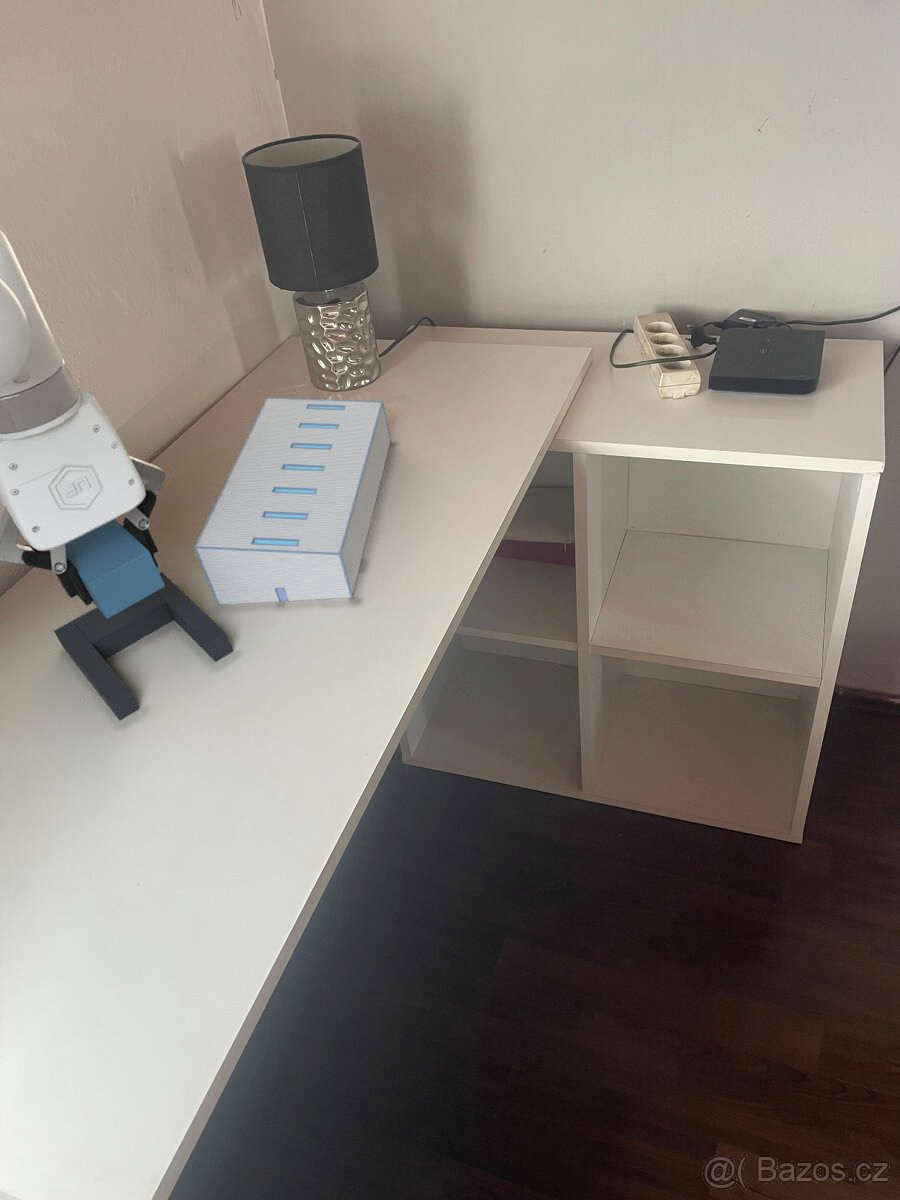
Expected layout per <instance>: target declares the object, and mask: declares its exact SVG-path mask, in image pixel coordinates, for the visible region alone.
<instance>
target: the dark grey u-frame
mask: <svg viewBox="0 0 900 1200" xmlns="http://www.w3.org/2000/svg"><path fill="white" fill-rule="evenodd" d="M159 574H160V576H161V578H162V580H163V582H164V584H165V587H163V588H161V589H160V590H158V591H156V592H154V593H152V594H151V595H149V596H147V597H145V598H143V599H142V600H140V601H138V602H136V603H135V604H133V605H131V606H129V607H127V608H126V609H124V610H122V611H120V612H118V613H117V614H115V615H113V616H111V617H110V618H108V619H107V618H106V617H105V616H104V615H103V614H102V612H101V611H100V610H99V609H98V608H97V607H95V608H93V609H91V610H90V611H87V612H86V613H84V614H82V615H80V616H78V617H77V618H75V619H73V620H71V621H69V622H68V623H66V624H64V625H62V626H60V627H58V628H56V629H55V630H53V633H54V634H55V636H56V638H57V640H58V642H59V643H60V644H61V646H62V648H63V649H64V650H65V651H66V653H67V654H68V656H69V657H70V658H71V660H72V661H73V662H74V663H75V665H76V666H77V667H78V669H79V670H80V671H81V673H82V674H83V675H84V677H85V679H86V680H87V681H88V682H89V683H90V684H91V686H92V688H94V690H95V691H96V693H98V695H99V696H100V697H101V698H102V700H103V701H104V703H105V704H106V705H107V706H108V708H109V709H110V710H111V711H112V713H113V714H114V716H115V717H116V719H118V721H122V720H123V719H124V718H127V717H128V716H130V715H132V714H133V713H135V712H136V711H138V710H139V709H140V707H139V705H138V703H137V701H136V699H135V698H134V696H133V694H132V692H131V691H130V689H129V688H128V687H127V685H126V684H125V683H124V682H123V680H121V678H120V677H119V676H118V674H117V673H116V671H114V670H113V668H112V667H111V666H110V665H109V663H108V662H107V661H106V660H107V659H108V658H110V657H112V656H113V655H116V654H117V653H119V652H120V651H122V650H124V649H126V648H127V647H130V646H131V645H133V644H135V643H136V642H138V641H140V640H141V639H143V638H144V637H147V636H149V635H150V634H151V633H153V632H155V631H157V630H158V629H160V628H162V627H164V626H166V625H167V624H169V623H171V622H173V621H174V622H176V624H177V625H178V626H179V627H180V628H181V629H182V630H183V631H184V632H185V633H186V634H187V635H188V637H190V638H191V639H192V640H193V641H194V642H195V643H196V644H197V645H198V646H199V647H200V648H201V649H202V650H203V651H204V652H205V653H206V654H207V655H208V656H209V657H210V658H211V659H212V660H213V661H214V662H218V661H220V660H221V659H223V658H225V657H227V656H228V655H229V654H231V653H233V651H234V650H233V646H232V644H231V643H230V640H229V637H228V635H227V633H226V632H225V631H224V629H222V628H221V627H220V626H219V625H218V624H217V623H216V622H215V621H214V620H213V619H212V618H211V617H210V616H209V615H208V614H207V613H206V612H205V611H203V609H202V608H200V607H199V606H198V605H197V604H196V603H195V602H194V601H193V600H192V599H191V598H190V597H189V596H188V595H187V594H186V593H185V592H183V590H182V589H181V588H179V587H178V586H177V584H175V583H174V582H173V581H172V579H170V578H169V577H168V576H167V575H166V574H165V573H164V572H163V571H160V572H159Z"/></svg>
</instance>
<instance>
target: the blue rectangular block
mask: <svg viewBox="0 0 900 1200" xmlns="http://www.w3.org/2000/svg"><path fill="white" fill-rule="evenodd" d="M65 550H66V557H67V559H68V560H69V561H70V562H71V563H72V564H73V565H74V566H75V568H76V569H77V571H78V574H79V576H80V577H81V579H82V581H83V583H84V585H85V587H86V588H87V590H88V592H89V594H90V596H91V598H92V599H93V601H92V604H93V605H94V606H95V608H98V609H99V610H100V611H101V612H102V614H103V615H104V616H105V617H106V618H107V619H108V618H110V617H111V616H113V615H115V614H117V613H118V612H120V611H122V610H124V609H126V608H127V607H129V606H131V605H133V604H135V603H136V602H138V601H140V600H142V599H143V598H145V597H147V596H149V595H151V594H152V593H154V592H156V591H158V590H160V589H161V588H163V587H165V584H164V582H163V580H162V578H161V576H160V574H159V573H160V572H159V570H158V567H156V565H155V563H154V561H153V558H152V556H151V554H150V552H149V551H148V550H147V549H146V548H145V547H144V546H143V545H142V544H141V543H140V542H139V541H137V540H136V539H135V538H134V537H133V536H132V535H131V534H130V533H129V532H128V531H127V530H126V529H125V528H124V527H123V524H121V523H120V522H119V521H118V520H117V518H116V519H114V520H112V521H110V522H108V523H106V524H104V525H102V526H100V527H98V528H96V529H95V530H93V531H91V532H89V533H87V534H85V535H83V536H81V537H79V538H77V539H75V540H73V541H71V542H69V543H67V544H65Z"/></svg>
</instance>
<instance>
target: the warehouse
mask: <svg viewBox="0 0 900 1200" xmlns="http://www.w3.org/2000/svg"><path fill="white" fill-rule="evenodd" d="M263 401H264V402H263V403H262V405H261V407H260V410H259V412H258V414H257V416H256V418H255V420H254V421H253V424H252V426H251V428H250V430H249V432H248V434H247V437H246V439H245V440H244V443H243V445H242V447H241V449H240V451H239V453H238V454H237V457H236V459H235V461H234V464H233V465H232V467H231V469H230V471H229V473H228V476H227V478H226V480H225V482H224V483H223V486H222V487H221V490H220V492H219V494H218V497H217V498H216V500H215V502H214V505H213V506H212V508H211V511H210V513H209V515H208V517H207V518H206V521H205V523H204V525H203V527H202V530H201V531H200V533H199V536H198V537H197V539H196V542H195V543H194V545H193V550H194V552H195V554H196V557H197V560H198V561H199V564H200V567H201V570H202V571H203V574H204V576H205V579H206V581H207V583H208V586H209V588H210V591H211V593H212V595H213V598H214V600H215V602H216V605H217V606H220V605H234V604H236V605H238V604H255V603H257V604H258V603H275V602H279V603H281V601H287V602H295V601H313V600H332V599H333V600H334V599H354V591H355V587H356V584H357V580H358V575H359V571H360V568H361V567H360V566H361V562H362V559H363V555H364V550H365V547H366V543H367V539H368V534H369V531H370V526H371V522H372V519H373V514H374V511H375V506H376V501H377V498H378V494H379V490H380V485H381V482H382V478H383V473H384V470H385V466H386V461H387V458H388V453H389V449H390V446H391V443H392V438H391V433H390V428H389V424H388V418H387V415H386V410H385V409H386V408H385V404H384V401H381V400H355V399H353V400H351V399H328V398H327V399H326V398H325V399H324V398H322V399H321V398H300V397H299V398H297V397H294V398H293V397H270V396H269V397H268V396H266V397H265V399H264V400H263Z"/></svg>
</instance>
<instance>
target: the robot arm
mask: <svg viewBox="0 0 900 1200" xmlns="http://www.w3.org/2000/svg"><path fill="white" fill-rule="evenodd" d="M49 327H50V326H49V325H48V323H47V321H46V318H45V316H44V314H43V312H42V310H41V308H40V306H39V303H38V301H37V299H36V296H35V294H34V293H33V291H32V288H31V286H30V284H29V281H28V279H27V277H26V275H25V273H24V271H23V268H22V267H21V263H20V262H19V260H18V258H17V256H16V254H15V252H14V250H13V247H12V245H11V243H10V241H9V239H8V238H7V236H6V235H5V233H4V232H3V231H2V230H1V229H0V502H1V504H2V506H3V507H4V509H3V512H2V514H1V518H0V562H6V563H14V564H23V565H26V566H28V567H32V568H37V569H41V570H47V571H52V572H53V574H55V575H56V577H57V579H58V581H59V583H60V585H61V586H62V587H63V589H64V592H66V594H67V596H69V598H70V599H72V598H75V597H76V596H78V598H79V599H80V600H81V601H82V603H83V604H84V605H85V606H86V607H87V606H89V605H91V604H93V602H92V601H93V599H92V598H91V596H90V594H89V592H88V590H87V588H86V587H85V585H84V583H83V581H82V579H81V577H80V576H79V574H78V571H77V569H76V568H75V566H74V565H73V564H72V563H71V562H70V561H69V560H68V559H67V557H66V550H65V544H67V543H69V542H71V541H73V540H75V539H77V538H79V537H81V536H83V535H85V534H87V533H89V532H91V531H93V530H95V529H96V528H98V527H100V526H102V525H104V524H106V523H108V522H110V521H112V520H114V519H116V520H117V519H118V518H120V517H122V516H124V519H123V520H122V523H123V524H122V526H123V527H124V528H125V529H126V530H127V531H128V532H129V533H130V534H131V535H132V536H133V537H134V538H135V539H136V540H137V541H139V542H140V543H141V544H142V545H143V546H144V547H145V548H146V549H147V550H148V551H149V552H150V554H151V556H152V558H153V561H154V563H155V565H156V567H157V568H159V564H158V562H157V559H156V557H155V554H156V553H158V552H159V550H158V546H157V545H156V543H155V541H154V538H153V536H152V534H151V532H150V530H149V527H150V525H151V521H150V518H151V514H152V512H153V510H154V507H155V505H156V503H157V500H158V497H157V495H158V494H159V493H160V491H161V489H162V487H163V485H164V483H165V481H166V478H167V472H166V471H164V470H163V469H162V468H161V467H160V466H158V465H155V464H153V463H150V462H147V461H145V460H142V459H140V458H137V457H134V456H131V455H129V453H128V451H127V449H126V447H125V445H124V443H123V441H122V440H121V438H120V436H119V435H118V433H117V430H116V429H115V427H114V426H113V423H112V422H111V420H110V418H109V417H108V416H107V414H106V413H105V411H104V409H103V408H102V406H101V405H100V404H99V402H98V401H97V399H96V398H95V397H94V396H93V394H92V393H91V392H89V391H87V390H85V389H83V388H80V387H77V385H76V383H75V381H74V378H73V377H72V375H71V372H70V370H69V367H67V364H66V361H65V359H64V358H63V356H62V353H61V351H60V349H59V347H58V345H57V343H56V340H55V338H54V336H53V334H52V332H51V329H50V328H49ZM20 534H21V535H22V538H23V539H24V540H25V541H26V542H27V543H28V544H23V545H21V544H19V543H17V541H18V538H19V536H20Z"/></svg>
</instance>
